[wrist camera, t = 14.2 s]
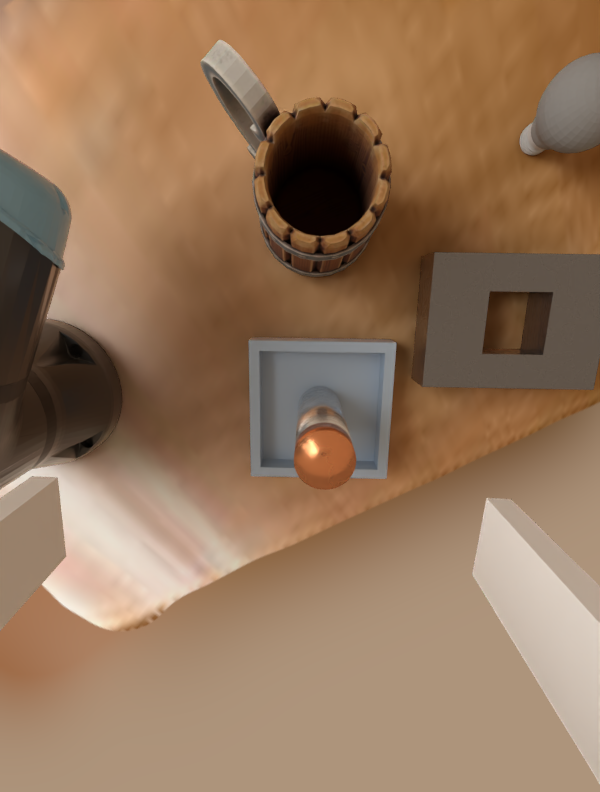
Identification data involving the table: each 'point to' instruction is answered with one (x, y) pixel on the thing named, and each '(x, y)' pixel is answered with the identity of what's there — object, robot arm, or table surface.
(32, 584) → the robot arm
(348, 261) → the mug
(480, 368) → the hitch block
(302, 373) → the tray
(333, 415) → the pin
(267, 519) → the table surface
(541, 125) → the light bulb
